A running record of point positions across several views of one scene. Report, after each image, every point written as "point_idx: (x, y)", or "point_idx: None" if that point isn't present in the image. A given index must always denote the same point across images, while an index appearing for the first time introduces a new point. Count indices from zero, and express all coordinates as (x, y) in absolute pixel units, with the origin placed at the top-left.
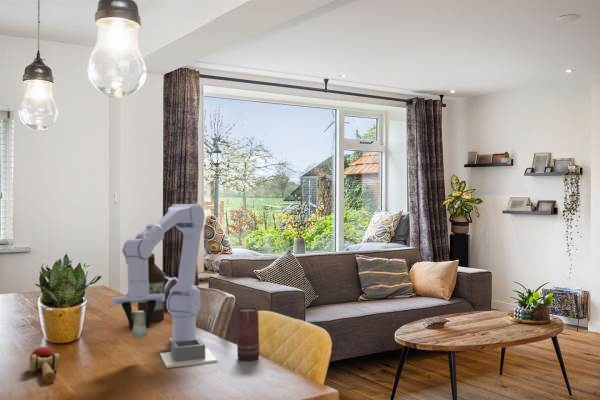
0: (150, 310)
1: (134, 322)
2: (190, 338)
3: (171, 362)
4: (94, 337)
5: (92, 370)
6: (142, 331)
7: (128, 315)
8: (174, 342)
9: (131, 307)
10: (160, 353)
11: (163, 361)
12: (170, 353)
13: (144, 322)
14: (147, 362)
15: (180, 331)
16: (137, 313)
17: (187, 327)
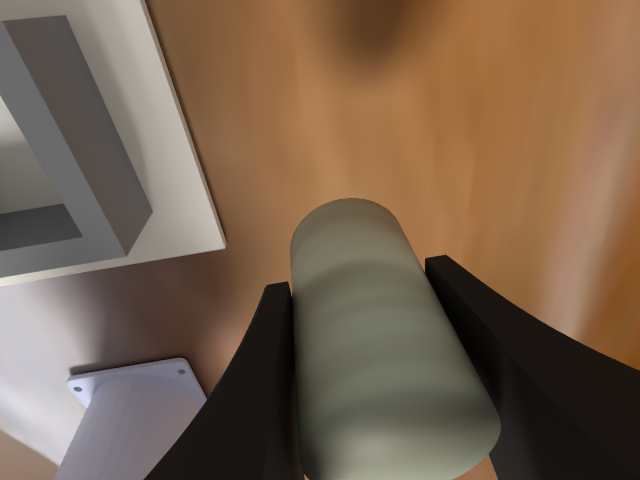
0: (214, 447)
1: (429, 297)
2: (99, 399)
3: (90, 2)
4: (486, 472)
5: (610, 11)
6: (326, 235)
7: (558, 349)
8: (85, 221)
9: (632, 469)
10: (221, 240)
11: (176, 96)
12: (161, 230)
13: (312, 308)
14: (280, 113)
15: (134, 430)
16: (431, 385)
17: (86, 452)
